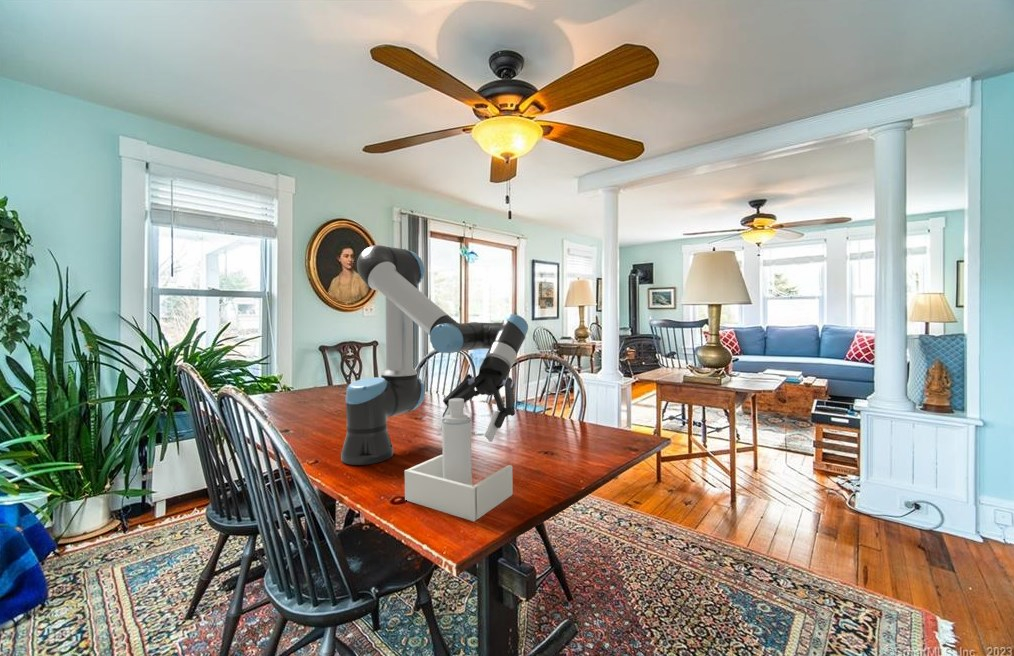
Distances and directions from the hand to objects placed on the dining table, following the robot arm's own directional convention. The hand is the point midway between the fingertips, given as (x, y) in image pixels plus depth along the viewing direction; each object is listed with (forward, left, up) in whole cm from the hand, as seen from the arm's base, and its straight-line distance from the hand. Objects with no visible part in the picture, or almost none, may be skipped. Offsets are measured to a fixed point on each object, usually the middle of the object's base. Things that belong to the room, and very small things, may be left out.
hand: (464, 434), depth 100 cm
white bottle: (-1, -1, -15) cm, 15 cm away
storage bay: (-1, 0, -15) cm, 15 cm away
